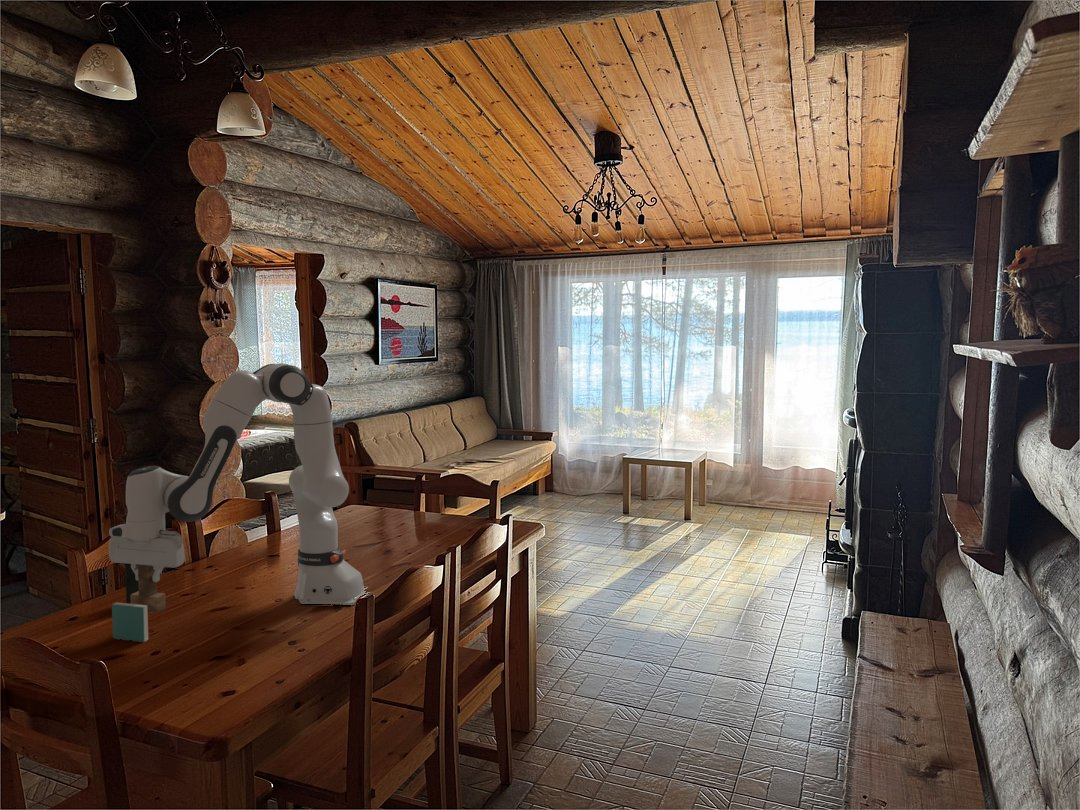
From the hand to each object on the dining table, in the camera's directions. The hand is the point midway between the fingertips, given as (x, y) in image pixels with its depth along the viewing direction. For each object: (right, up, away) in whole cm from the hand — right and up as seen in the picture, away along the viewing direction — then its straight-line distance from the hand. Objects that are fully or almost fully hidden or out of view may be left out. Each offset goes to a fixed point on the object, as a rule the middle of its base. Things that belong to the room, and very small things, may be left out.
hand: (147, 580), depth 187 cm
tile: (-2, -14, -5) cm, 15 cm away
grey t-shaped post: (0, -8, +1) cm, 8 cm away
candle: (-13, -12, +18) cm, 25 cm away
